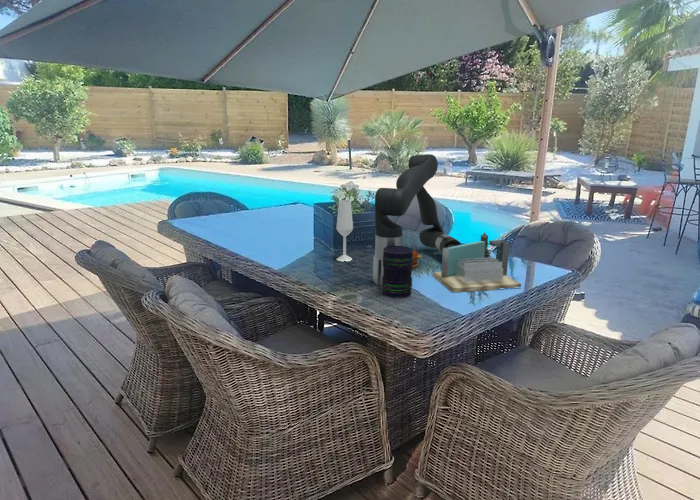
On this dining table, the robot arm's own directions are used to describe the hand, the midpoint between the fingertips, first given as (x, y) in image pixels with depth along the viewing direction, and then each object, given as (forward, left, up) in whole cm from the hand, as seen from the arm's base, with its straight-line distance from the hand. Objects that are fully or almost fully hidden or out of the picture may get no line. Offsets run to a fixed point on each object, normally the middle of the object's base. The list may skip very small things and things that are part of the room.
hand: (467, 257), depth 188 cm
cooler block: (+2, -10, -5) cm, 11 cm away
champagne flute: (-41, +27, -7) cm, 50 cm away
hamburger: (-19, +14, -7) cm, 25 cm away
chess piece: (+14, +15, -7) cm, 22 cm away
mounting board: (-1, -10, -6) cm, 11 cm away
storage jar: (-32, -16, -7) cm, 36 cm away
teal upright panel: (-3, -2, -5) cm, 6 cm away
